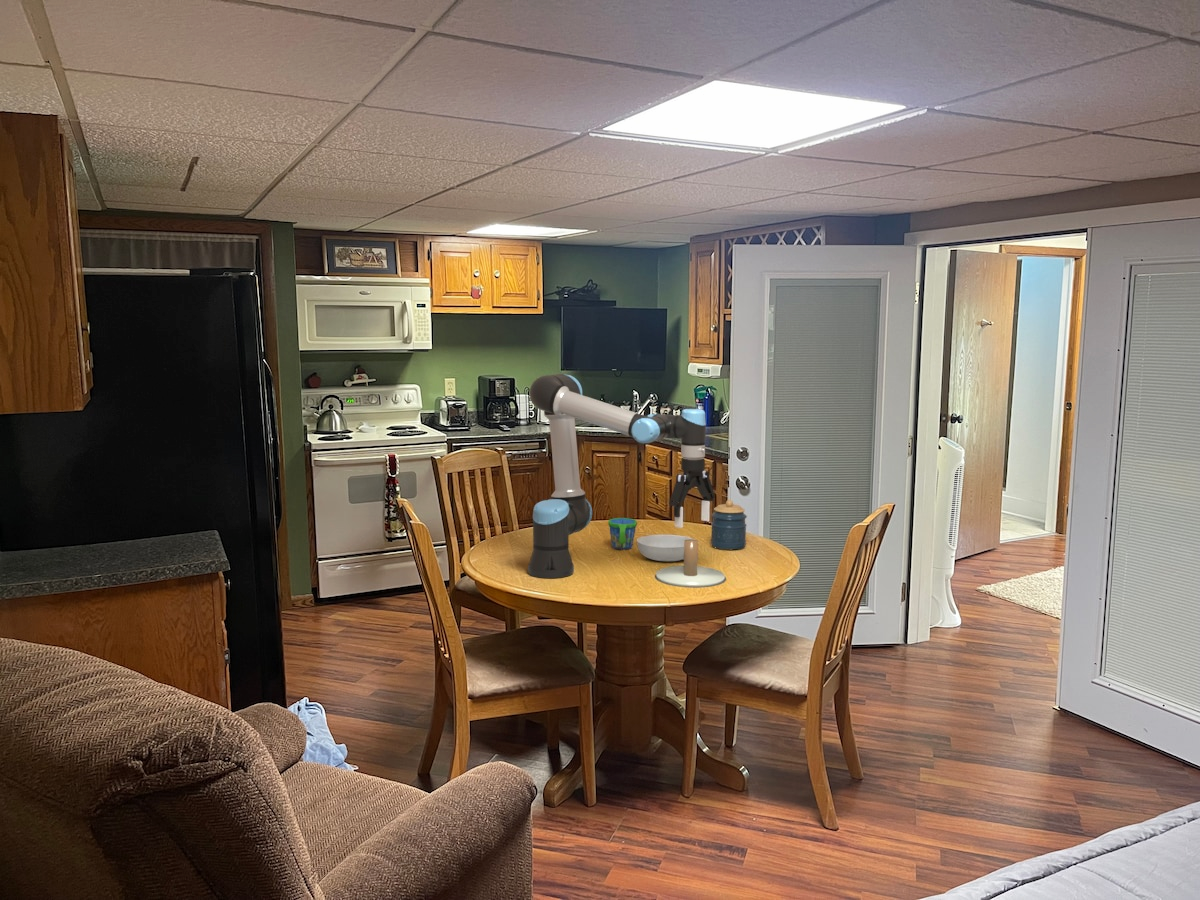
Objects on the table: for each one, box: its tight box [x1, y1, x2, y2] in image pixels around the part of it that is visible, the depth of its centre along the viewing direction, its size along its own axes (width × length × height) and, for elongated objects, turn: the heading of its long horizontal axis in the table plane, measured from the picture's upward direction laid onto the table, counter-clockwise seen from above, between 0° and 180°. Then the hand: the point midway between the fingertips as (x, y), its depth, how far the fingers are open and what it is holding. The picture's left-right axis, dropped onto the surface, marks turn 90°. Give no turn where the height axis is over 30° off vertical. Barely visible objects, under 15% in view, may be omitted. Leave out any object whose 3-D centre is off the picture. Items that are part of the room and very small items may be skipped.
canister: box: [710, 499, 748, 550], centre depth 328 cm, size 13×13×18 cm
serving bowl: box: [636, 534, 696, 563], centre depth 309 cm, size 21×21×7 cm
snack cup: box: [607, 517, 638, 550], centre depth 325 cm, size 16×10×10 cm
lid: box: [655, 538, 726, 588], centre depth 284 cm, size 22×22×12 cm
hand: (692, 523), depth 282 cm, fingers open, 13 cm apart
